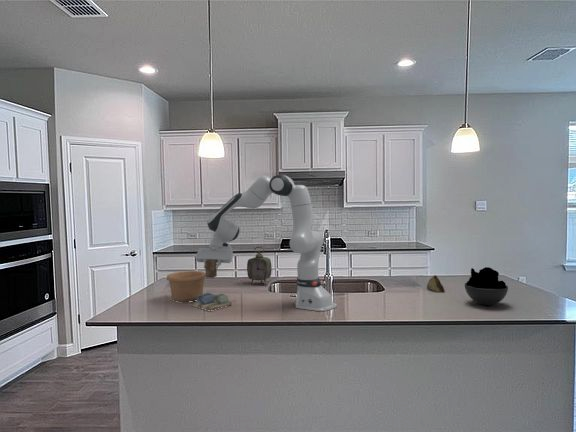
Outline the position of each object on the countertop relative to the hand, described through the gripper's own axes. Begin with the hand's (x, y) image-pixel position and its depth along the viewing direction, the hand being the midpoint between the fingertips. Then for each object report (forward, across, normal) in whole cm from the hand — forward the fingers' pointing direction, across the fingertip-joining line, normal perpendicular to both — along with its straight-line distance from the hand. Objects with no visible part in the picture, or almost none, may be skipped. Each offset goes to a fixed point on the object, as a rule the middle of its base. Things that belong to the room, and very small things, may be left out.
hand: (210, 268), depth 215 cm
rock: (-21, +122, +48) cm, 132 cm away
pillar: (+3, 0, +4) cm, 5 cm away
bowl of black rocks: (-2, +142, +27) cm, 145 cm away
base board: (+15, +1, +14) cm, 20 cm away
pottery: (+7, -19, +22) cm, 30 cm away
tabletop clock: (-24, +12, +53) cm, 59 cm away
